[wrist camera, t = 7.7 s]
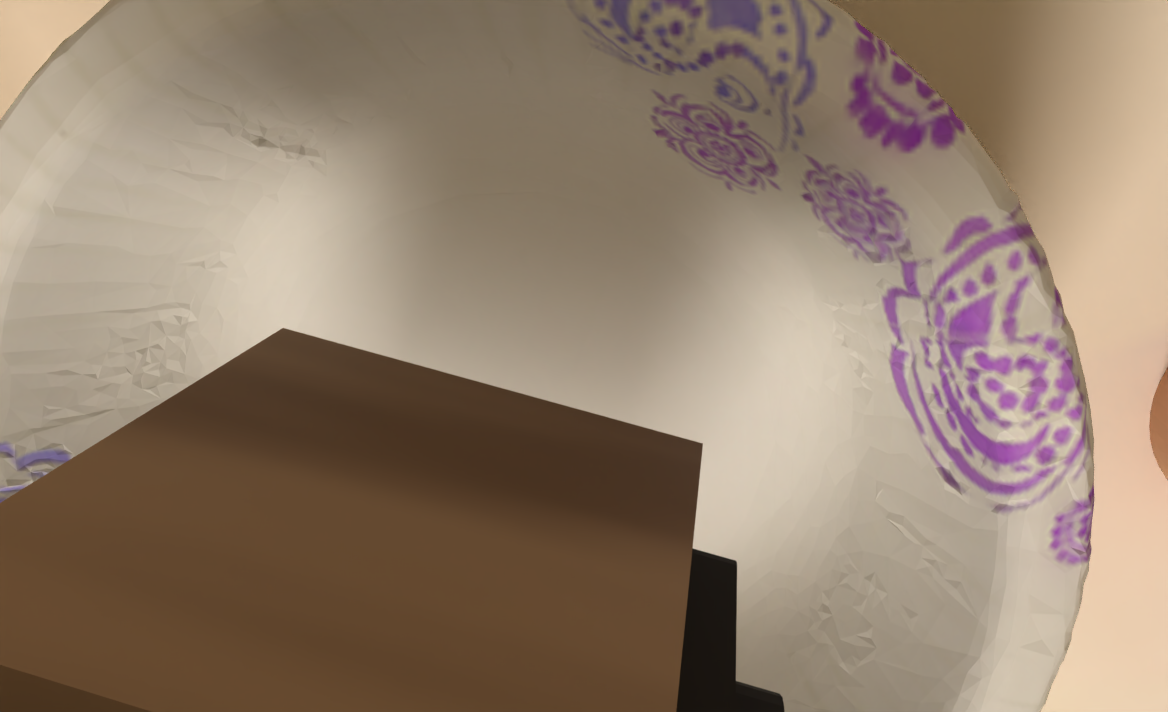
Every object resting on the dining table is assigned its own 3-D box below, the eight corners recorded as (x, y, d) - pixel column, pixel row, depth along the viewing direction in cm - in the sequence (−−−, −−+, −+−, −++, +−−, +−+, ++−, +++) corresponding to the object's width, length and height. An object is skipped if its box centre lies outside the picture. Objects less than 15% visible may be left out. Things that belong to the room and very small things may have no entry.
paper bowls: (1138, 189, 17) (1449, 307, 10) (718, 788, 22) (708, 1168, 15) (359, -214, 17) (60, -413, 10) (120, 481, 22) (-196, 707, 15)
